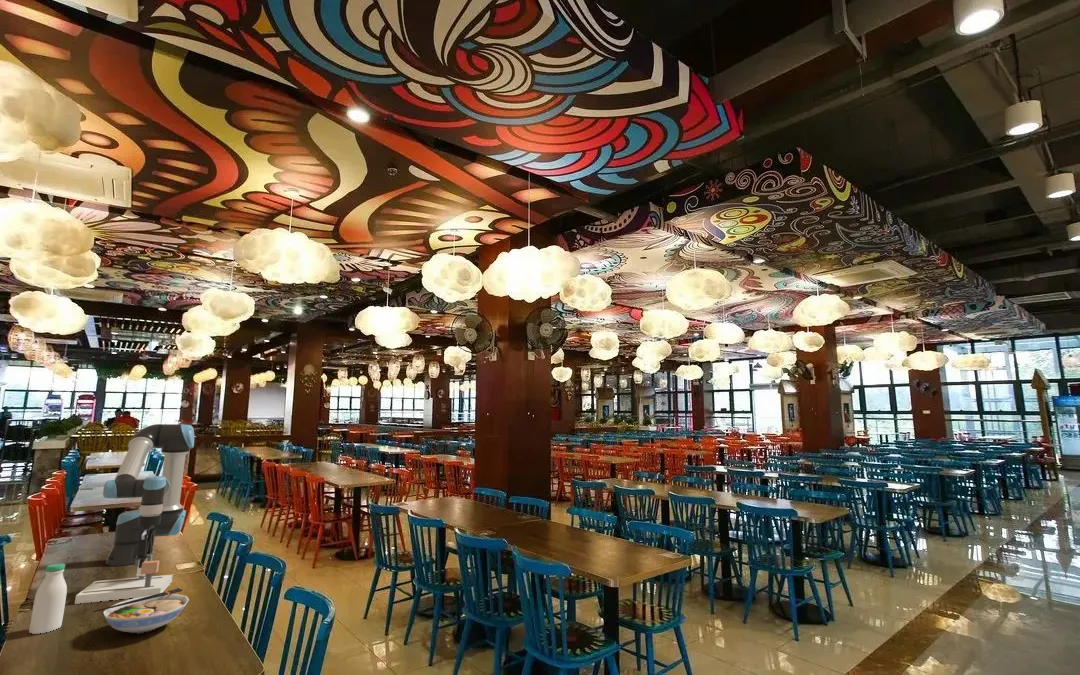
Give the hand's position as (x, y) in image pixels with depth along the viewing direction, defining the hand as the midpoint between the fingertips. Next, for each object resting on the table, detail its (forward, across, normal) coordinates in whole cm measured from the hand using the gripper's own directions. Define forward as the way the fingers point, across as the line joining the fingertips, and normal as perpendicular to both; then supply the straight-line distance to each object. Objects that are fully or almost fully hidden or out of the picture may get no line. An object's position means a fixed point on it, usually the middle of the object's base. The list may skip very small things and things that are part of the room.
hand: (142, 574), depth 208 cm
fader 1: (+2, 0, 0) cm, 2 cm away
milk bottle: (+5, +40, -15) cm, 43 cm away
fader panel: (+5, +6, -3) cm, 8 cm away
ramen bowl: (+5, +50, +14) cm, 52 cm away
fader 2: (+2, +12, +5) cm, 13 cm away
